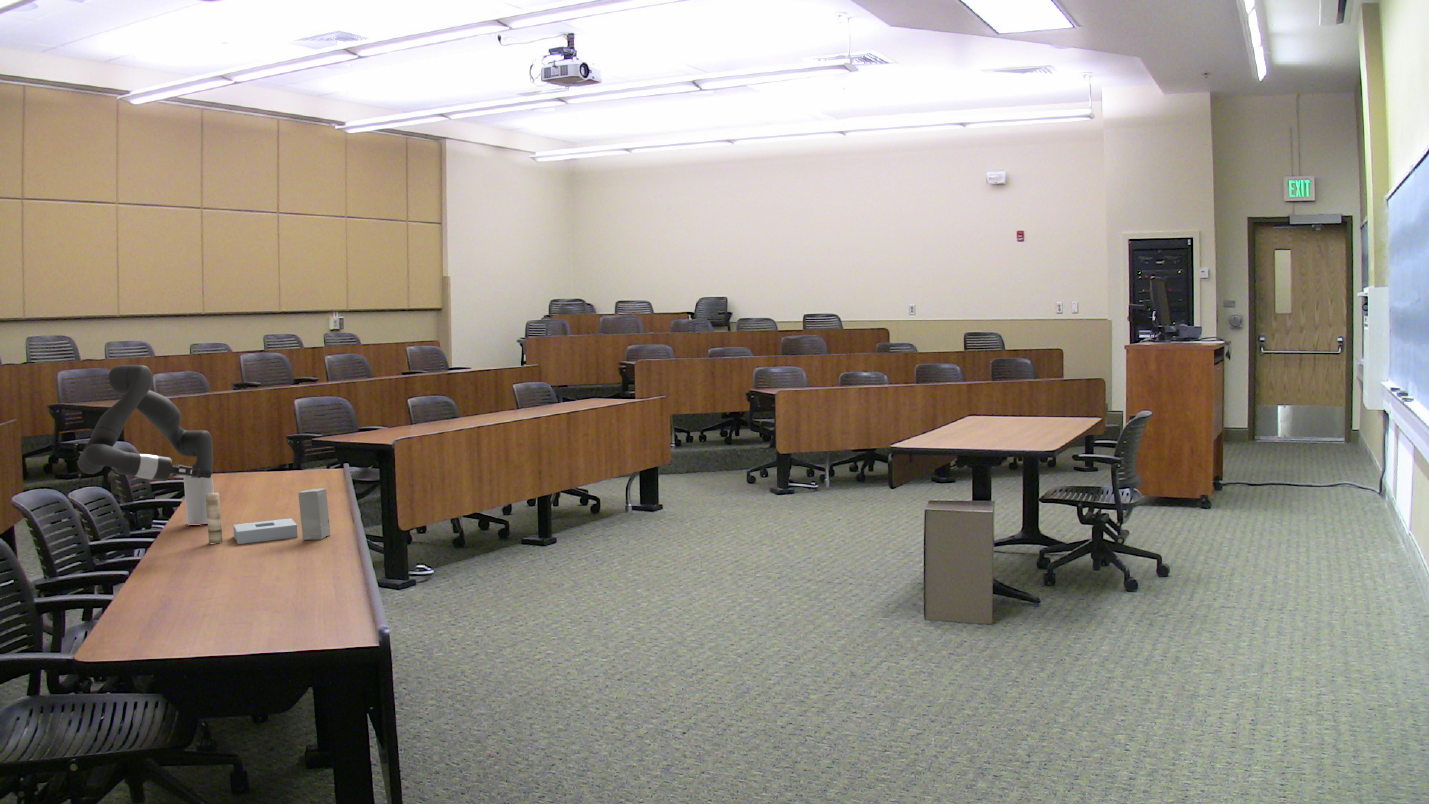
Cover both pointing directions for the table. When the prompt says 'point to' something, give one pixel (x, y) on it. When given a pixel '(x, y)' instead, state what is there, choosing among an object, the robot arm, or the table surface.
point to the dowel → (213, 517)
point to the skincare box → (314, 514)
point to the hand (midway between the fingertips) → (205, 474)
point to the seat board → (265, 531)
